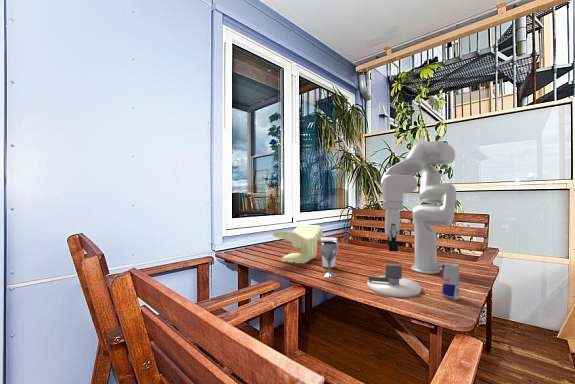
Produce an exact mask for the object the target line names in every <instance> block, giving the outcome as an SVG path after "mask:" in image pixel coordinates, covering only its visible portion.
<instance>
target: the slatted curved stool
mask: <svg viewBox="0 0 575 384" xmlns="http://www.w3.org/2000/svg"><path fill="white" fill-rule="evenodd" d="M323 231H324V230H323V228H322V227H321V226H320V225H314V224H298V225H296V227H295V229H294V230H293V231H291V232H290V231H280V230H279V231H278V230H273V231H272V234H273V235H272V236H273V237H274V238H278V239H281V240H286V241H289V242H290V243H291V245H292V248H296V249H297V248H298V249H300V253H294V252H292V253H289V254H286V255H285V256H282V257H281V258H282V259H281V262H285V261H288V262H287V263H293V262H295V263H294V264H300V263H302V264H306V263H308V262H309V261H311V260H313V259H314V258H316V256H317V250H318V242H319V240H321V238H324V237H323V236H324V235H323V234H324V233H323Z"/></svg>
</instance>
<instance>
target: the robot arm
mask: <svg viewBox="0 0 575 384" xmlns="http://www.w3.org/2000/svg"><path fill="white" fill-rule="evenodd" d="M455 159H456V153H455V149H454V148H453V146H451V145H450V144H448V143H446V142H445V141H442V140H432V141H424V142H418V143H416V144H415V145H413V147H412V148H411V149H410V151H409V153H407V155H406V157H405V158H404V160H401V161H400V162H397V163H395V164H394V165H392V166H391V167H388V169H386V172H384V174H383V176H382V178H381V180H380V189H381V191H382V210H385V212H384V213H385V214H384V233H385V235H388V236H387V247H388V251H389V252H393V253H394V252H397V253H398V251H399V240H398V236H399V234H400V224H401V221H400V220H401V215H400V214H401V213H400V212H401V211H403V210H404V194H410V193H414V191H416V189H417V188H418V180H417V179H416V178H415V176H413V175H417V174H419V173H421V177H420V178H421V180H420V185H419V190H418V191H419V192H418V197H419V198H418V199H419V201H420V202H422V203H423V204H417V205H415V206H414V207H413V208H412V212H411V215H412V216H411V217H412V220H413V221H412V222H413V227H414V228H413V229H414V264H412V265H411V266H410V268H411V270H412V271H414V272H417V273H421V274H426V275H427V274H428V275H430V274H432V275H433V274H440V273H441V269H442V265H443V263H444V262H439V261H437V259H438V258H437V257H438V256H437V252H438V251H437V243H438V242H437V231H436V230H435V228H434V227H433V226H439V227H441V226H442V227H449V226H450V225H452V224H453V222H454V217H455V211H456V210H455V209H456V203H457V189H456V187H455V185H453V184H450V183H441V178H442V176H441V173H440V172H439V171H438V169H436V168H435V167H434V166H436V165H450V164H452V163H453V162H454V161H455Z"/></svg>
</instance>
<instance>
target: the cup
mask: <svg viewBox="0 0 575 384" xmlns="http://www.w3.org/2000/svg"><path fill="white" fill-rule="evenodd" d="M337 240H338V239H337V238H336V237H330V236H329V237H328V236H327V237H323V238H320V243H321V242H322V241H335V242H338V241H337ZM336 256H337V255H336ZM336 256H335V257H334V259H333V260H332V261H331V266H330V268H335V267H336ZM321 260H322V267H324V268H329V267H328V262H327V260H326V259H325V258H324V256H323V255H322V254H321Z"/></svg>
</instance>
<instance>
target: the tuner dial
mask: <svg viewBox="0 0 575 384" xmlns="http://www.w3.org/2000/svg"><path fill="white" fill-rule="evenodd" d="M377 277H385V275H380V276H377ZM366 284H367V285H366V286H367V289H369V290H370V291H372V292H373V291H374V292H373V293H376V294H379V295H382V296H386V297H391V298H411V297H416V296H417V297H418V296H419V295H421V293H422V286H421V284H420V283H418V282H416V281H414V280H412V279H409V278H406V277H402V279H399V284H390V283H388V282H378V281H369V279H367V283H366Z"/></svg>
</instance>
